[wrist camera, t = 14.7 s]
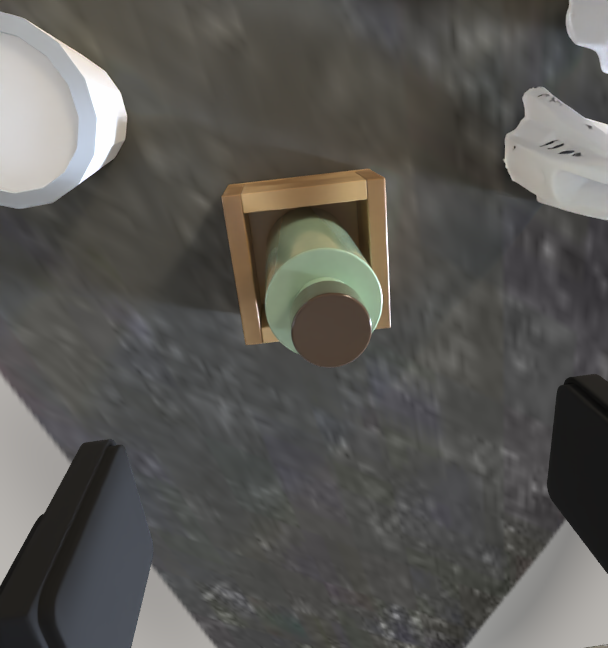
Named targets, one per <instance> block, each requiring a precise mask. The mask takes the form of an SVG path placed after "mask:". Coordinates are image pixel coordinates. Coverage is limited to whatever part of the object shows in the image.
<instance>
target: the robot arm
mask: <svg viewBox="0 0 608 648" xmlns="http://www.w3.org/2000/svg"><path fill="white" fill-rule="evenodd" d="M547 488H548V492H549V495H550V498H551V499H552V501H553V503H554V504H555V505H556V506H557V508H558V509H559V510H560V512H561V513H562V514H563V516H564V517H565V518H566V520H567V521H568V522H569V523H570V525H571V526H572V527H573V529H574V530H575V531H576V533H577V534H578V535H579V537H580V538H581V539H582V541H583V542H584V543H585V545H586V546H587V547H588V548H589V550H590V551H591V553H592V554H593V555H594V557H595V558H596V559H597V560H598V562H599V563H600V564H601V566H602V567H603V568H604V570H605V571H606V572H607V573H608V382H607V381H606V380H605V379H603V378H602V377H601V376H599V375H597V374H591V375H584V376H577V377H569V378H567V379H566V380H565V382H564V385H561V386H559V388H558V390H557V397H556V406H555V415H554V425H553V434H552V443H551V452H550V461H549V471H548V480H547ZM152 558H153V542H152V537H151V534H150V531H149V527H148V524H147V521H146V517H145V514H144V510H143V507H142V504H141V500H140V497H139V494H138V490H137V487H136V483H135V480H134V477H133V473H132V470H131V466H130V463H129V460H128V456H127V453H126V450H125V447H124V446H123V445H116V443H115V442H114V440H112V439H108V440H101V441H93V442H86V443H83V444H82V445H81V447H80V448H79V450H78V452H77V454H76V456H75V458H74V460H73V461H72V463H71V465H70V467H69V469H68V471H67V473H66V474H65V476H64V478H63V480H62V482H61V484H60V486H59V488H58V489H57V491H56V493H55V495H54V497H53V499H52V500H51V502H50V504H49V506H48V508H47V510H46V512H45V513H44V514H42V515H41V516H40V517H39V518H38V519H37V521H36V522H35V524H34V526H33V527H32V529H31V531H30V533H29V535H28V536H27V539H26V540H25V542H24V544H23V546H22V547H21V549H20V551H19V553H18V555H17V556H16V558H15V560H14V562H13V564H12V566H11V568H10V569H9V571H8V573H7V575H6V577H5V578H4V580H3V582H2V584H1V586H0V648H131V646H132V642H133V637H134V633H135V629H136V625H137V621H138V616H139V612H140V608H141V604H142V600H143V596H144V592H145V587H146V583H147V579H148V575H149V571H150V567H151V562H152ZM586 648H608V644H607V645H600V646H593V647H586Z"/></svg>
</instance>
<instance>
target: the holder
mask: <svg viewBox="0 0 608 648" xmlns="http://www.w3.org/2000/svg"><path fill="white" fill-rule="evenodd" d="M221 198H222V205H223V211H224V217H225V223H226V229H227V235H228V241H229V247H230V253H231V259H232V265H233V271H234V277H235V283H236V289H237V295H238V302H239V308H240V314H241V320H242V326H243V332H244V338H245V344H246V345H252V344H260V343H269V342H277V341H279V340H278V339H277V338H276V337H275V335H274V334H273V332H272V331H271V329H270V327H269V324H268V322H267V318H266V313H265V265H266V241H267V237H268V234H269V232H270V230H271V228H272V226H273V225H274V223H275V222H276V221H277V220H278V219H279V218H280V217H281V216H282V215H284V214H285V213H287V212H289V211H291V210H294V209H297V208H301V207H316V208H320V209H323V210H326V211H327V212H329V213H331V214H332V215H334V216H335V217H336V218H337V219H338V220H339V221H340V222H341V224H342V225H343V226H344V228H345V229H346V231H347V232H348V234H349V235H350V237H351V238H352V240H353V241H354V243H355V244H356V246H357V247H358V249H359V250H360V252H361V253H362V255H363V256H364V258H365V259H366V261H367V262H368V264H369V265H370V267H371V268H372V270H373V271H374V273H375V275H376V276H377V278H378V280H379V283H380V286H381V290H382V296H383V306H382V313H381V316H380V319H379V322H378V324H377V326H376V328H375V329H382V328H390V327H391V314H390V288H389V262H388V236H387V210H386V184H385V178H384V177H382V176H380V175H379V174H377V173H375V172H373V171H371V170H370V169H361V170H352V171H344V172H335V173H326V174H317V175H309V176H300V177H291V178H283V179H274V180H265V181H257V182H248V183H239V184H231V185H228V186H227V188H226V190H225V191H224V193H223V195H222V197H221Z"/></svg>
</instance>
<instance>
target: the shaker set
mask: <svg viewBox="0 0 608 648" xmlns="http://www.w3.org/2000/svg"><path fill="white" fill-rule="evenodd" d="M566 28H567V33H568V35H569V37H570V38H571V40H572V41H573V42H574V43H575V44H576V45H579V46H582V47H586V48H590V49H592V50H594V51H595V52H596V53H597V54H598V57H599V60H600V65H601V69H602V71H603V72H605V73H607V74H608V0H569V8H568V10H567V14H566ZM539 95H543V96H540V97H538V96H539ZM522 100H523V104H524V108H525V117H524V118H523V119H522V120H521V121H520V124H519V125H518V126H517V128H516V129H515V130H513V131H511V133H508V134H507V135H506V137H505V141H504V142H505V159H503V161H504V162H505V164H506V166H505V167H506V168H507V169H508V173H509V174H510V177H511V178H512V181H515V182H517V183H518V184H520V185H521V186H523V187H524V188H526V189H527V190H529V191H530V192H532V193H534V194H535V195H537V201H538V202H540V203H543V204H547V205H550V206H553V207H557V208H560V209H563V210H566V211H570V212H573V213H577V214H581V215H585V216H589V217H594V218H599V219H604V220H608V125H607V124H604V123H601V122H597V121H594V120H590V119H587V118H584V117H583V116H581V115H580V114H579V113H577V112H576V111H575V110H573V109H572V108H570V107H569V106H567V105H565V104H564V103H563V102H561V101H560V100H559V99H558V98H556V97H555V96H553V95H552V94H551V93H550V92H549V91H548V90H547V89H545V88H544V87H537V88H534V87H533V88H532V89H530V88H529V90H528V91H526V92H525V93H524V96H523V97H522ZM553 140H554V141H555V140H558V141H555V142H554V143H553V144H549V145H547V146H543V145H545V144H546V143H548V142H551V141H553ZM562 143H564V146H561V147H559V148H556V149H547V148H553V147H554V146H556V145H560V144H562ZM514 146H516V148H515V149H514ZM539 146H542V147H539ZM567 150H568V151H571V150H574V151H575V152H573V153H571V154H568V153H567V154H558V153H560V152H562V151H567ZM574 153H576V154H575V156H571V155H573V154H574Z"/></svg>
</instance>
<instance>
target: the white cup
mask: <svg viewBox="0 0 608 648" xmlns="http://www.w3.org/2000/svg"><path fill="white" fill-rule="evenodd" d="M126 126H127V113H126V110H125V106H124V103H123V99H122V96H121V92H120V91H119V90H118V88H117V87H116V85H115V84H114V83H113V81H112V80H111V78H110V77H109V76H108V74H107V73H106V71H104V70H103V69H102V68H100V67H99V66H97V65H96V64H94V63H93V62H92V61H90V60H89V59H87V58H86V57H85V56H83V55H81V54H80V53H78V52H77V51H75V50H73V49H72V48H70V47H69V46H67V45H65V44H64V43H62V42H61V41H59V40H58V39H56V38H54V37H53V36H51V35H50V34H48V33H46V32H45V31H43V30H42V29H40V28H38V27H37V26H35V25H34V24H32V23H30V22H29V21H27V20H26V19H24V18H23V17H19V16H15V15H11V14H7V13H3V12H0V205H2V206H7V207H12V208H17V209H22V208H28V207H33V206H39V205H44V204H50V203H53V202H55V201H56V200H57V199H59V198H60V197H62V196H63V195H64V194H66V193H67V192H69V191H70V190H71V189H73V188H74V187H76V186H77V185H78V184H80V183H81V182H83V181H84V180H85V179H87V178H88V177H89V176H91V175H92V174H94V173H95V172H96V171H98V170H99V169H100V168H102V167H103V166H104V165H106V164H107V163H109V162H110V161H111V160H113V159H114V158H115V157H116V155H117V153H118V152H119V150H120V148H121V146H122V144H123V142H124V141H125V137H126Z"/></svg>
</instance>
